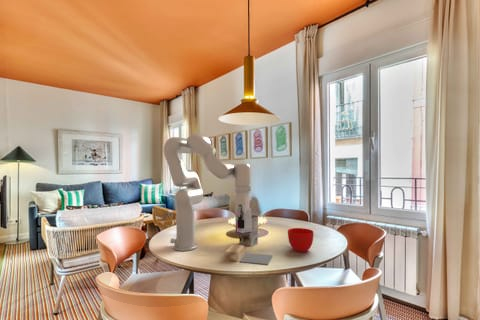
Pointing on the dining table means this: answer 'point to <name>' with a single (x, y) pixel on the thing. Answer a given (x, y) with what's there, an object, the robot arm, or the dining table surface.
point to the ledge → (234, 253)
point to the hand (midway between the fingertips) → (243, 226)
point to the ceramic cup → (300, 239)
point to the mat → (256, 258)
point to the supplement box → (245, 223)
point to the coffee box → (251, 237)
